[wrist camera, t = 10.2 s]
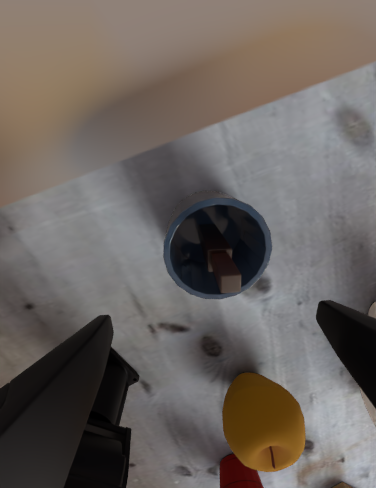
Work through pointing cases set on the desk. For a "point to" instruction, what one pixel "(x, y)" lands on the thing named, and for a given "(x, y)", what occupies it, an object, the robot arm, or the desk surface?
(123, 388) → the robot arm
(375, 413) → the cream globe logo
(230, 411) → the apple
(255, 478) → the plastic cup
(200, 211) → the cup
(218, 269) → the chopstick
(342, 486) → the banker's lamp
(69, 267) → the desk surface
